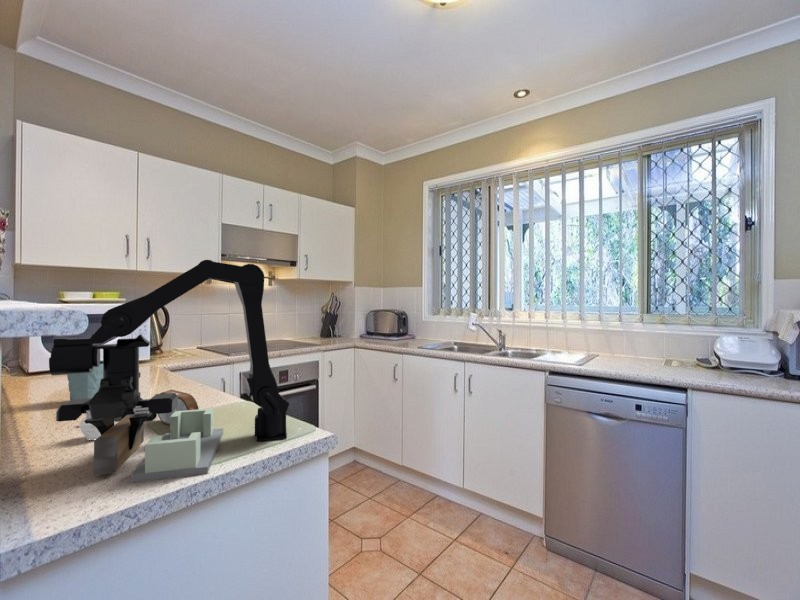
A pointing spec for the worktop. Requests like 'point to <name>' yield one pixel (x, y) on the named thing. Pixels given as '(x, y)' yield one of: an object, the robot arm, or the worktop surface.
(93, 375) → the teal plant pot
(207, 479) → the worktop surface
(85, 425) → the muffin
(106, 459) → the rail
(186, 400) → the tin
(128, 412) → the door handle
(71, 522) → the worktop surface
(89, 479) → the worktop surface
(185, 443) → the post frame
